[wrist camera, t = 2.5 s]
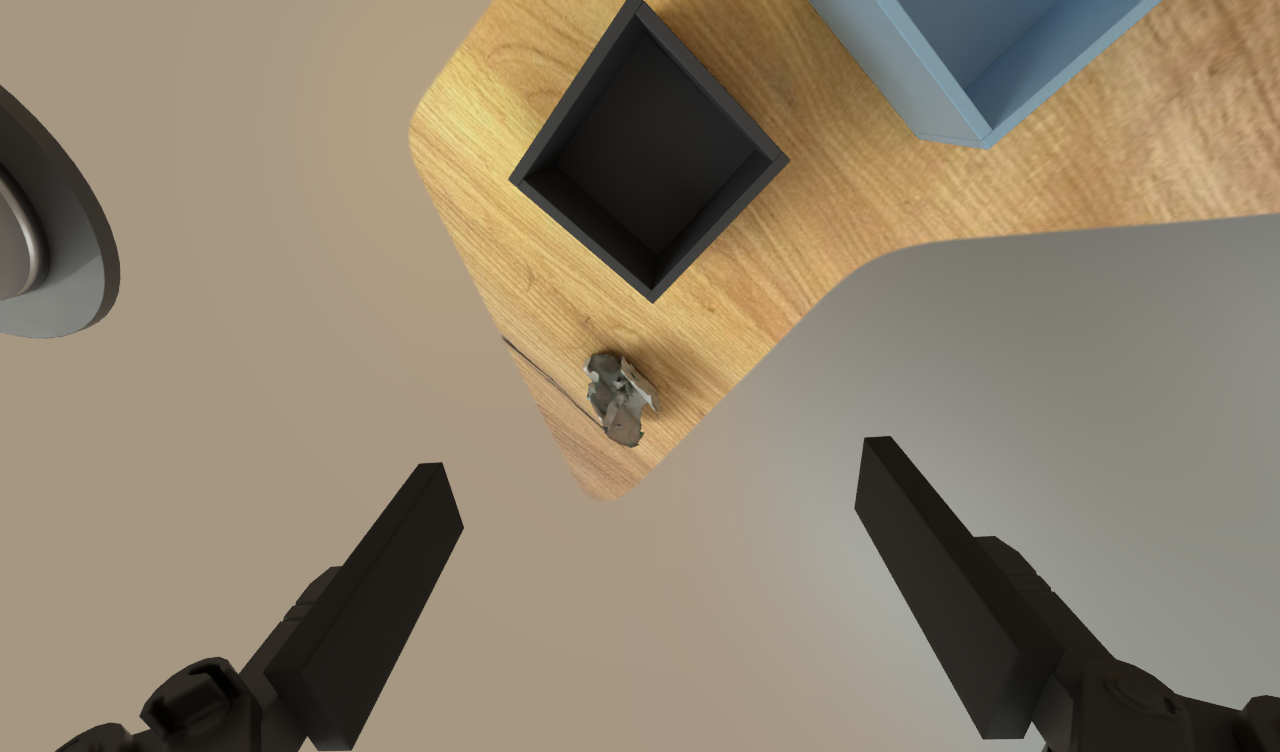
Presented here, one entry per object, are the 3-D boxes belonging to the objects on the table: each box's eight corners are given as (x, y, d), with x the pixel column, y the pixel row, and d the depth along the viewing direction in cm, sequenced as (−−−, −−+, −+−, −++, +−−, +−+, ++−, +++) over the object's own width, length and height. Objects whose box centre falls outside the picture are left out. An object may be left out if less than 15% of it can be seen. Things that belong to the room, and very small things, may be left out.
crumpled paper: (638, 426, 41) (630, 481, 35) (580, 359, 38) (561, 407, 32) (678, 404, 40) (677, 457, 34) (622, 333, 37) (610, 377, 31)
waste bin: (544, 163, 31) (507, 180, 24) (645, 17, 27) (633, -11, 20) (658, 265, 34) (652, 304, 27) (767, 148, 29) (790, 160, 23)
